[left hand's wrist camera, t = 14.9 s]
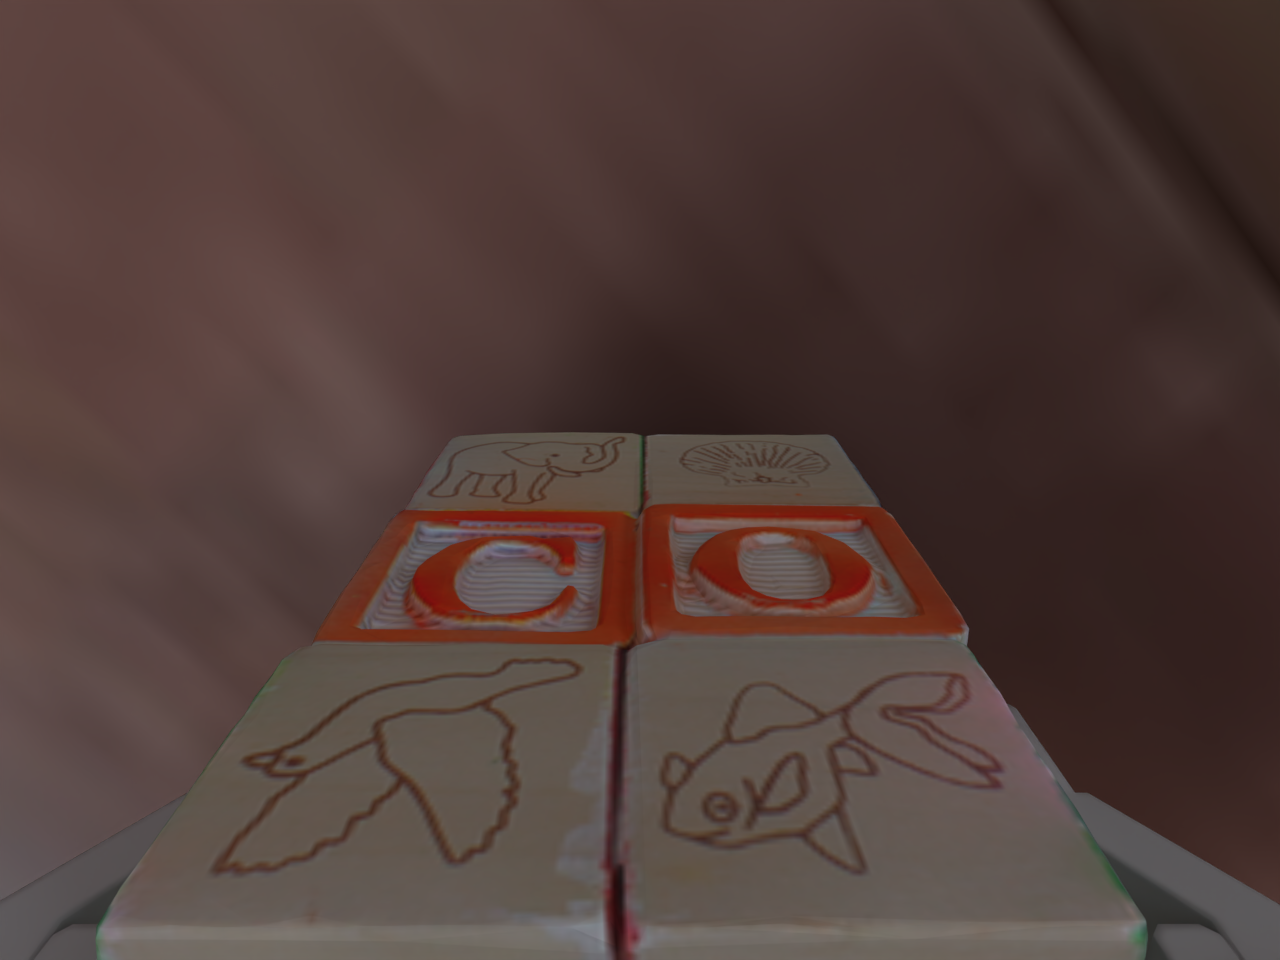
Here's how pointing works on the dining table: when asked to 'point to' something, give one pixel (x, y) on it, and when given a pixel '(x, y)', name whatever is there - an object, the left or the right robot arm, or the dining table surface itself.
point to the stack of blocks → (630, 739)
